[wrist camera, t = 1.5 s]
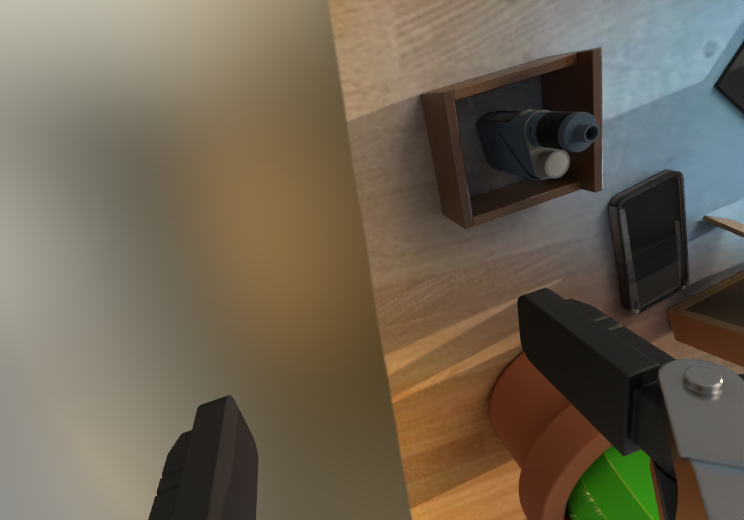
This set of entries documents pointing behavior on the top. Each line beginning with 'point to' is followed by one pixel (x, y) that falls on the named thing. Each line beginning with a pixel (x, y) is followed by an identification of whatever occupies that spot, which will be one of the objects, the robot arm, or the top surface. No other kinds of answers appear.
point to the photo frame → (714, 312)
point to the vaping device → (535, 140)
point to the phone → (650, 240)
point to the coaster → (734, 80)
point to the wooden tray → (559, 93)
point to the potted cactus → (566, 455)
